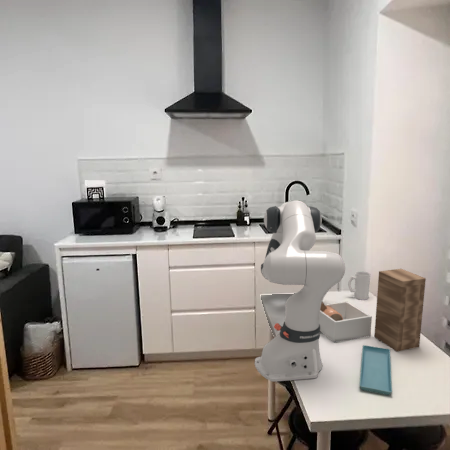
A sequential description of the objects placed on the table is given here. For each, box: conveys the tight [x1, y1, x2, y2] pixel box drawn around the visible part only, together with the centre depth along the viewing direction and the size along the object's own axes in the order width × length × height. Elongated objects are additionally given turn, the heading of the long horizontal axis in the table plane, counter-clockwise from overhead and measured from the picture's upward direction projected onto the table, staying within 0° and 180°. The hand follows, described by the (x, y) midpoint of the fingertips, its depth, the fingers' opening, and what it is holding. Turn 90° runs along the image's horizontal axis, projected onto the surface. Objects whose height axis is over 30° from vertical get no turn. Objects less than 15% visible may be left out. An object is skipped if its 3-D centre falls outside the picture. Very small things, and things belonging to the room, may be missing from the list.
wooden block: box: [374, 268, 427, 352], centre depth 150 cm, size 10×12×26 cm
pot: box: [320, 301, 343, 321], centre depth 162 cm, size 16×7×7 cm
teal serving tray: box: [359, 344, 393, 396], centre depth 133 cm, size 26×9×2 cm, turn 160°
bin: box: [319, 301, 373, 343], centre depth 161 cm, size 16×16×8 cm
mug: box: [347, 271, 371, 301], centre depth 195 cm, size 10×7×12 cm, turn 92°
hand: (318, 260), depth 174 cm, fingers open, 8 cm apart
